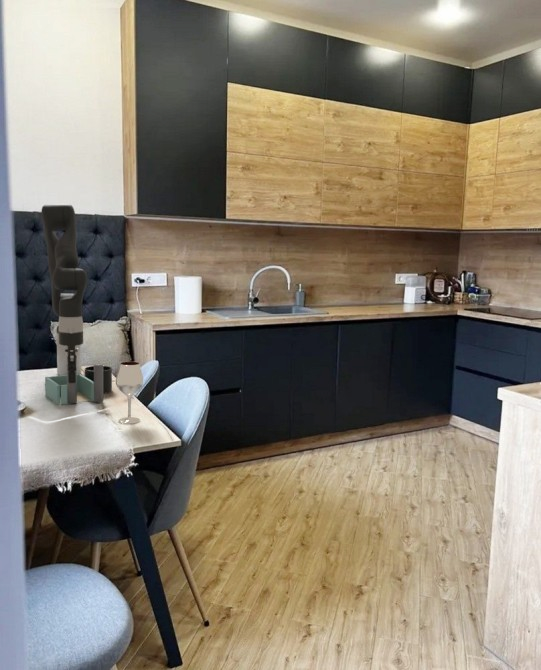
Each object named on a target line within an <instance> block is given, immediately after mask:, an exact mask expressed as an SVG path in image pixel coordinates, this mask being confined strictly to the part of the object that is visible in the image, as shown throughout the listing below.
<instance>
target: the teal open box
mask: <svg viewBox="0 0 541 670" xmlns="http://www.w3.org/2000/svg"><path fill="white" fill-rule="evenodd" d="M44 381H45V382H44V385H45V392H44V393H45V396H46V397H47V398H49V400H51V401H52V402H54V403H55V404H56V405H57V406H58V405H62V404H61V397H60V385H66V384H67V375H53V376H45V378H44ZM92 382H93V381H91V380H90V379H88V378H86V377H85V375H83V374H82V373H81V374H77V403H83V402H89V401H90V402H91V383H92Z"/></svg>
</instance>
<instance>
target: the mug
mask: <svg viewBox="0 0 541 670" xmlns="http://www.w3.org/2000/svg"><path fill="white" fill-rule="evenodd" d="M84 377H86V378H88V379H90V380H91V381H93V383H94V365H92V366H87V367H84ZM112 384H113V368H112V367H111V366H108V365H107V366H106V365H103V395H105V394H109V393H112V391H113V390H112V388H113V385H112Z"/></svg>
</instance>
